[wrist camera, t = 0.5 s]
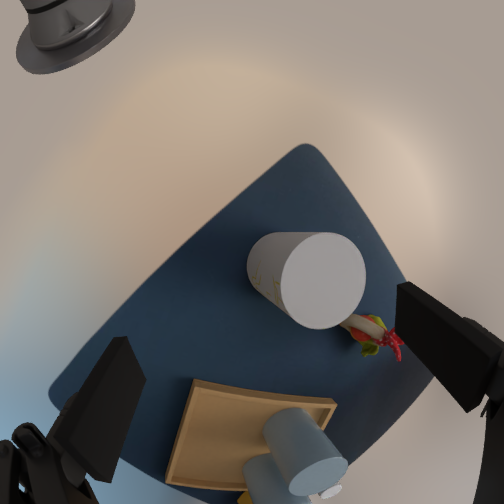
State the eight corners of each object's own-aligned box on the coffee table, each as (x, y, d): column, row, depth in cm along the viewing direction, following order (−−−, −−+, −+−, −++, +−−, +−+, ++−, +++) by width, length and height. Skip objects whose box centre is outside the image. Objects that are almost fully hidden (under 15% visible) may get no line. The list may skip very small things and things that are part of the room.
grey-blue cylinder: (235, 479, 34) (252, 530, 23) (250, 451, 34) (272, 506, 23) (277, 480, 36) (300, 525, 25) (294, 452, 36) (324, 500, 25)
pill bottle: (328, 455, 39) (349, 482, 31) (316, 471, 39) (335, 498, 31) (308, 455, 38) (328, 485, 30) (296, 471, 38) (314, 501, 30)
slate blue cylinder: (254, 443, 34) (278, 498, 23) (273, 405, 34) (305, 459, 23) (299, 444, 36) (330, 492, 25) (319, 408, 36) (358, 454, 25)
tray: (165, 474, 32) (165, 483, 30) (193, 378, 32) (194, 386, 30) (281, 483, 37) (285, 490, 35) (331, 398, 37) (337, 404, 35)
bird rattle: (324, 335, 38) (372, 360, 37) (338, 350, 27) (399, 381, 26) (345, 298, 39) (392, 325, 37) (366, 299, 28) (425, 334, 26)
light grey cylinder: (232, 269, 32) (259, 290, 21) (277, 218, 33) (325, 211, 22) (280, 310, 34) (325, 345, 23) (321, 261, 35) (379, 274, 23)
